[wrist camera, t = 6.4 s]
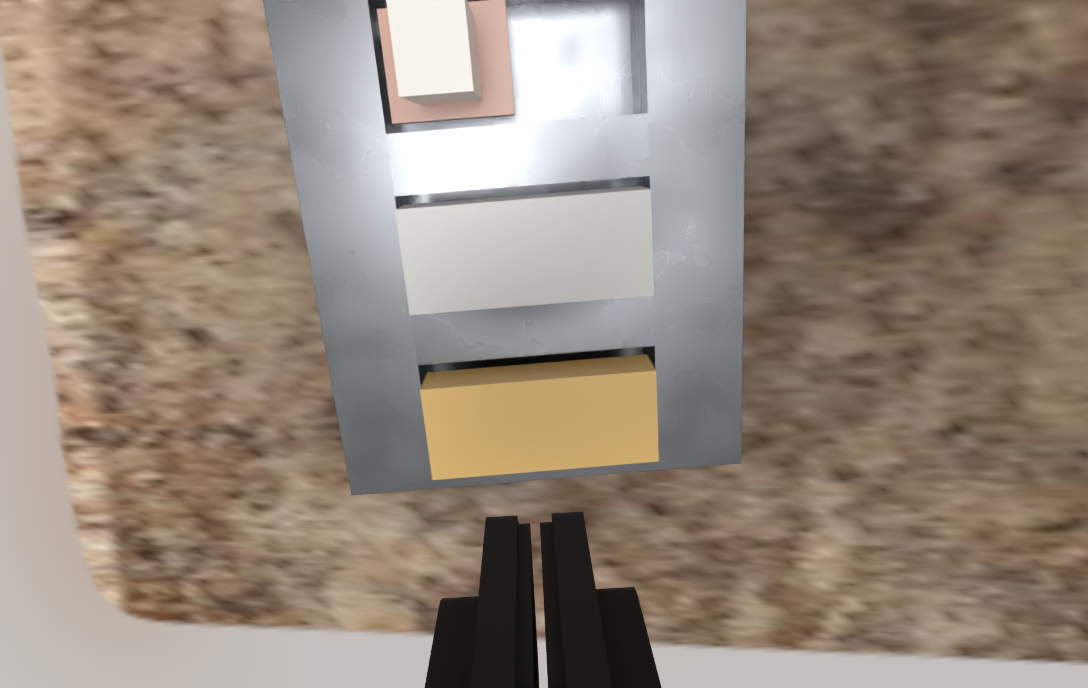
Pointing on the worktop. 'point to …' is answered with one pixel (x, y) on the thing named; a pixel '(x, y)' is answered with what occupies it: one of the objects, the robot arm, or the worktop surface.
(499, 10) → the slider lever
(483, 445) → the amber button
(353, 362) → the control panel
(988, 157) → the worktop surface
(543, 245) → the white button
